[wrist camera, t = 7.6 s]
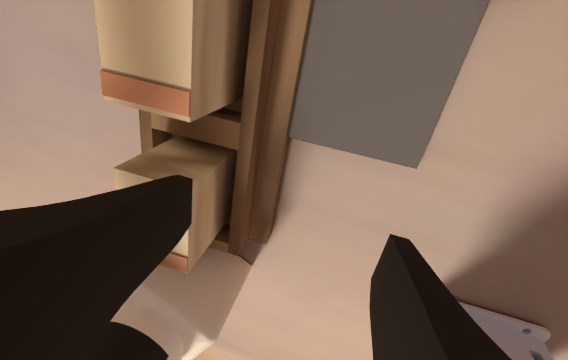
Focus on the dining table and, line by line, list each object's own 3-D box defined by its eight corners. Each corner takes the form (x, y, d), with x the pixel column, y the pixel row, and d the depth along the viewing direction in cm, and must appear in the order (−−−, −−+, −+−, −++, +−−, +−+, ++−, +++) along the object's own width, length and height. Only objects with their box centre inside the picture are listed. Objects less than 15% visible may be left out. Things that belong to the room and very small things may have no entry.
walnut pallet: (319, -31, 14) (310, -48, 12) (270, 236, 22) (257, 262, 20) (142, -60, 16) (97, -81, 13) (155, 202, 24) (129, 222, 21)
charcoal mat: (489, -9, 13) (494, -11, 13) (415, 165, 17) (416, 168, 17) (320, -36, 14) (319, -39, 14) (288, 134, 18) (287, 137, 18)
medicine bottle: (152, 258, 27) (18, 397, 16) (185, 212, 23) (42, 351, 13) (213, 302, 27) (121, 465, 17) (253, 264, 24) (171, 437, 14)
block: (237, 147, 19) (187, 190, 13) (230, 216, 21) (186, 275, 16) (181, 133, 19) (111, 168, 14) (181, 202, 22) (122, 254, 16)
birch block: (254, -11, 14) (192, -42, 9) (242, 97, 17) (188, 123, 12) (182, -24, 15) (84, -61, 10) (181, 83, 18) (103, 101, 12)
